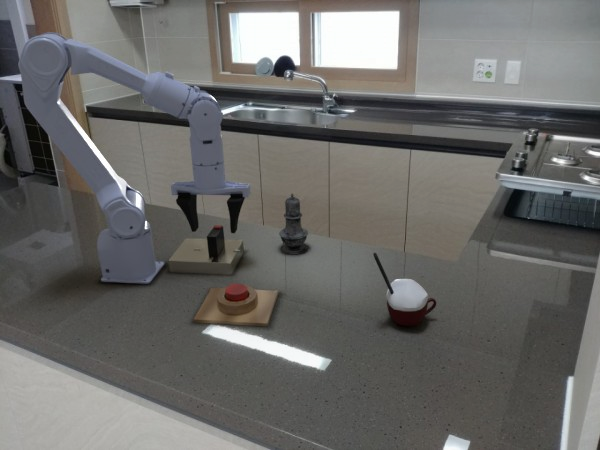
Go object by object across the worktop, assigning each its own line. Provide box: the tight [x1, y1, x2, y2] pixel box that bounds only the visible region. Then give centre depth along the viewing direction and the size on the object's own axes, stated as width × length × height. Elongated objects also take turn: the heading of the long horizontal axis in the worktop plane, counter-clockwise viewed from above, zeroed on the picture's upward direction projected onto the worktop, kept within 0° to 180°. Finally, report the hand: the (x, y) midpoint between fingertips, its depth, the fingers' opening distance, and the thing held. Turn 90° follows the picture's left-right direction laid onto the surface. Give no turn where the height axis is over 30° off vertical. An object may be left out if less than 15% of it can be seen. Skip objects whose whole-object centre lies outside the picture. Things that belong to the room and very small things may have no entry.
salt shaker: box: [278, 193, 309, 255], centre depth 107 cm, size 6×6×12 cm
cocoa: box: [372, 252, 437, 327], centre depth 82 cm, size 10×6×12 cm, turn 71°
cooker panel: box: [168, 237, 245, 276], centre depth 105 cm, size 13×10×3 cm
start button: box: [225, 283, 248, 302], centre depth 88 cm, size 4×4×2 cm
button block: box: [193, 285, 280, 328], centre depth 89 cm, size 12×10×2 cm
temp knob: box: [206, 224, 225, 256], centre depth 103 cm, size 5×2×4 cm, turn 172°
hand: (214, 230), depth 102 cm, fingers open, 7 cm apart
